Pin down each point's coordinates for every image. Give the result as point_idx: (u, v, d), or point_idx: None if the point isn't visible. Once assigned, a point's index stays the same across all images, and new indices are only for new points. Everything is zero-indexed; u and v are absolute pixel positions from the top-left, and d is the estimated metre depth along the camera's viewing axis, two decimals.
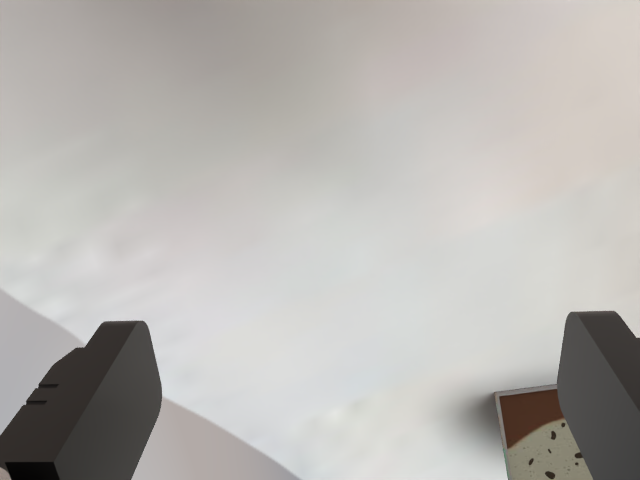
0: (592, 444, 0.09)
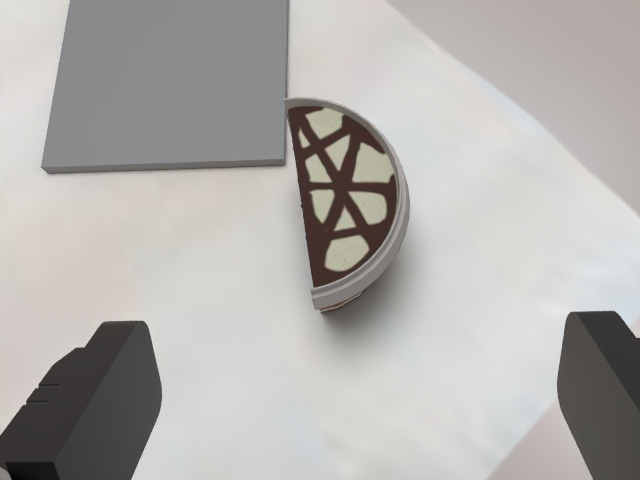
0: (592, 444, 0.09)
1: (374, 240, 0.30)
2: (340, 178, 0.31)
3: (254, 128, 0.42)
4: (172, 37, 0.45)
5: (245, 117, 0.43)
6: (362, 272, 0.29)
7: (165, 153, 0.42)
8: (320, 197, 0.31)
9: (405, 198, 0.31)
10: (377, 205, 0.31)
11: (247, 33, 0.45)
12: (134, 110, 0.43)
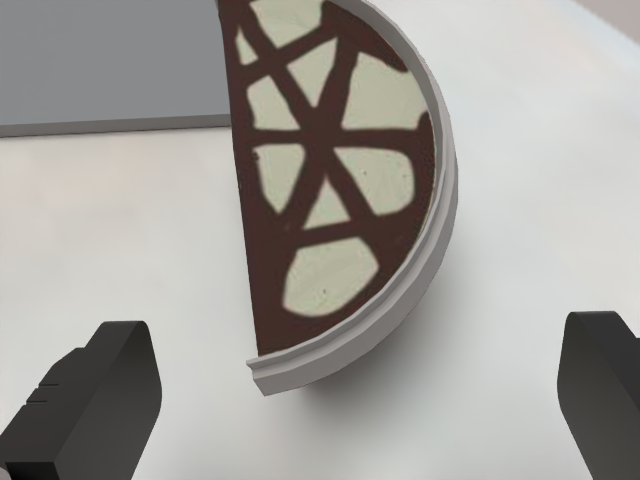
0: (592, 444, 0.09)
1: (389, 248, 0.14)
2: (318, 122, 0.15)
3: (188, 67, 0.26)
4: None
5: (175, 51, 0.27)
6: (364, 319, 0.13)
7: (44, 108, 0.26)
8: (274, 159, 0.15)
9: (453, 159, 0.15)
10: (394, 176, 0.15)
11: None
12: (1, 43, 0.27)
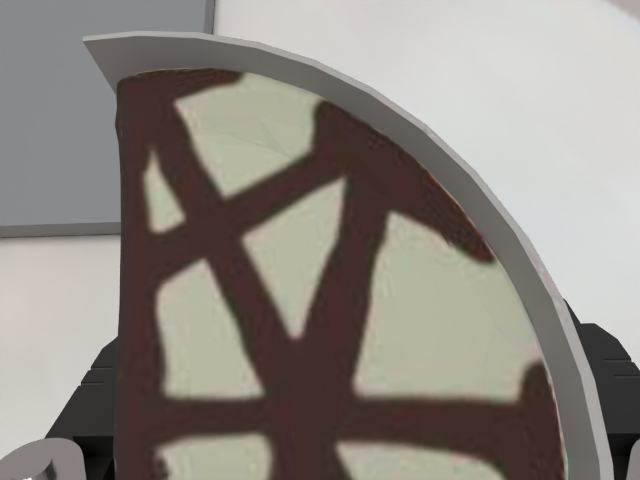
0: None
1: None
2: (303, 376, 0.07)
3: None
4: None
5: (109, 121, 0.18)
6: None
7: None
8: (203, 476, 0.07)
9: None
10: None
11: None
12: None
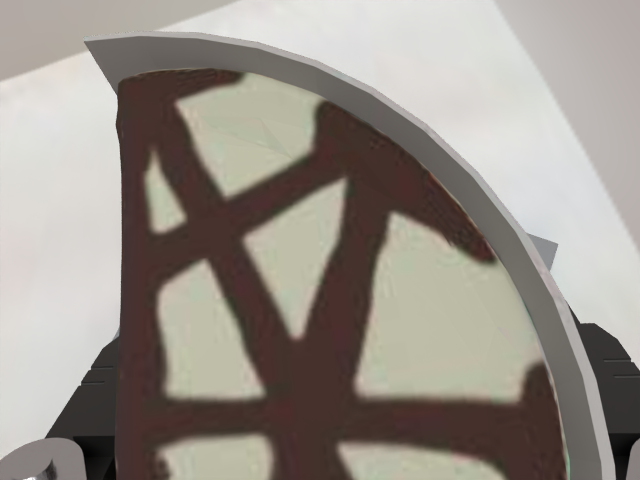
0: None
1: None
2: (304, 376, 0.07)
3: None
4: None
5: None
6: None
7: None
8: (204, 478, 0.07)
9: None
10: None
11: None
12: None
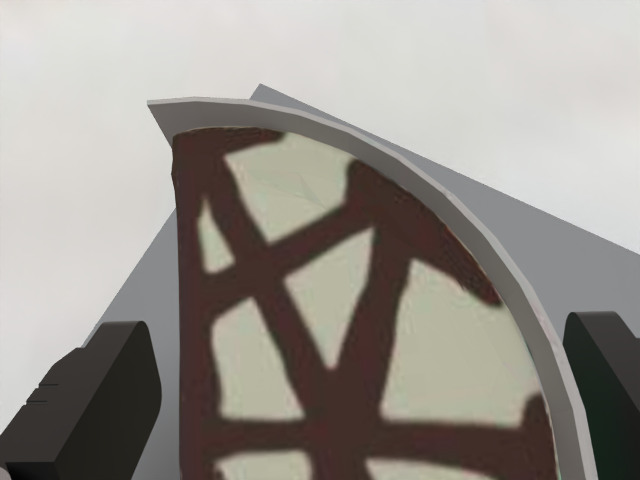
0: (592, 444, 0.09)
1: None
2: (338, 401, 0.08)
3: None
4: None
5: None
6: None
7: None
8: None
9: None
10: None
11: None
12: None
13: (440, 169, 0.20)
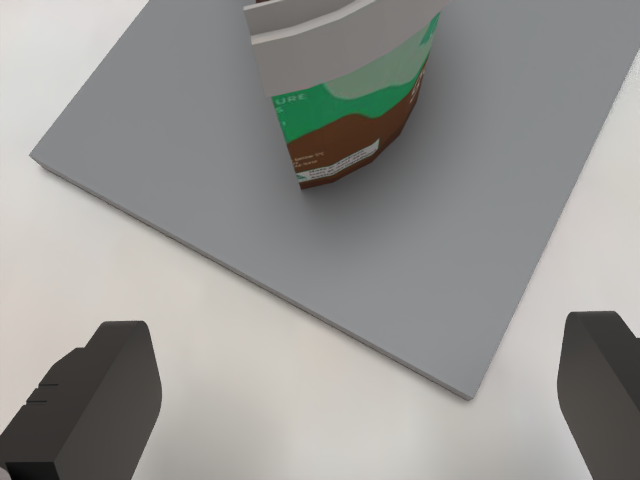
0: (592, 444, 0.09)
1: None
2: None
3: (444, 292, 0.19)
4: None
5: (437, 258, 0.19)
6: None
7: (246, 248, 0.20)
8: None
9: None
10: None
11: (525, 81, 0.21)
12: (238, 130, 0.21)
13: None
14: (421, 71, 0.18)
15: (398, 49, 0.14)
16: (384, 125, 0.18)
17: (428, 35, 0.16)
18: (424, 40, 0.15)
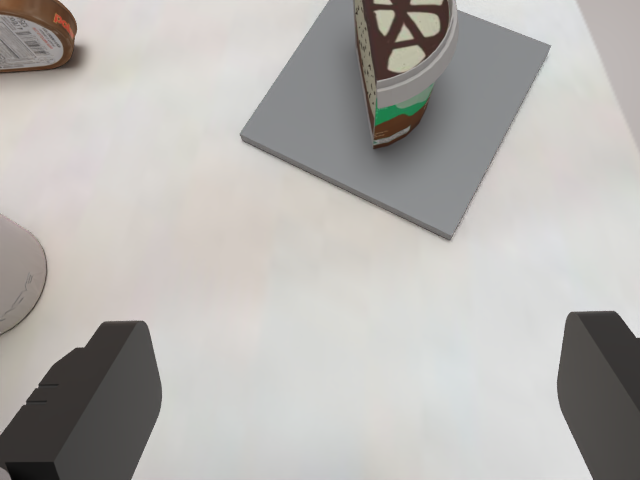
0: (592, 444, 0.09)
1: (429, 49, 0.35)
2: (400, 2, 0.36)
3: (439, 193, 0.42)
4: None
5: (436, 179, 0.42)
6: (420, 71, 0.34)
7: (349, 175, 0.43)
8: (382, 15, 0.36)
9: (456, 16, 0.36)
10: (432, 23, 0.36)
11: (477, 98, 0.44)
12: (341, 122, 0.44)
13: None
14: (429, 95, 0.41)
15: None
16: (413, 119, 0.41)
17: None
18: (431, 84, 0.39)
